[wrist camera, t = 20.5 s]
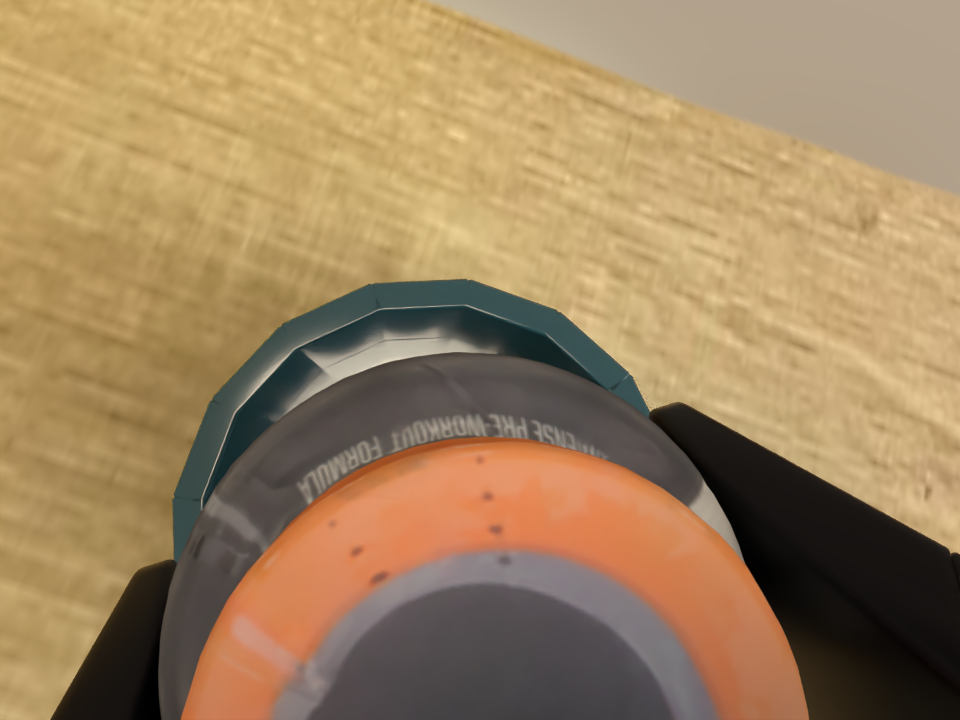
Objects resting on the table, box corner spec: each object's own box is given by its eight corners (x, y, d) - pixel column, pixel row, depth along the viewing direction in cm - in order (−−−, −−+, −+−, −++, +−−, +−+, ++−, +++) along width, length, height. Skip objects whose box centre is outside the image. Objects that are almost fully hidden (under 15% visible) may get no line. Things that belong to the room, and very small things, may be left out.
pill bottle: (586, 412, 16) (991, 334, 5) (569, 698, 15) (999, 1362, 4) (308, 389, 16) (60, 243, 4) (277, 683, 15) (-116, 1394, 4)
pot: (687, 486, 23) (775, 502, 18) (444, 791, 21) (458, 910, 16) (411, 242, 23) (414, 181, 18) (146, 528, 21) (57, 559, 16)
